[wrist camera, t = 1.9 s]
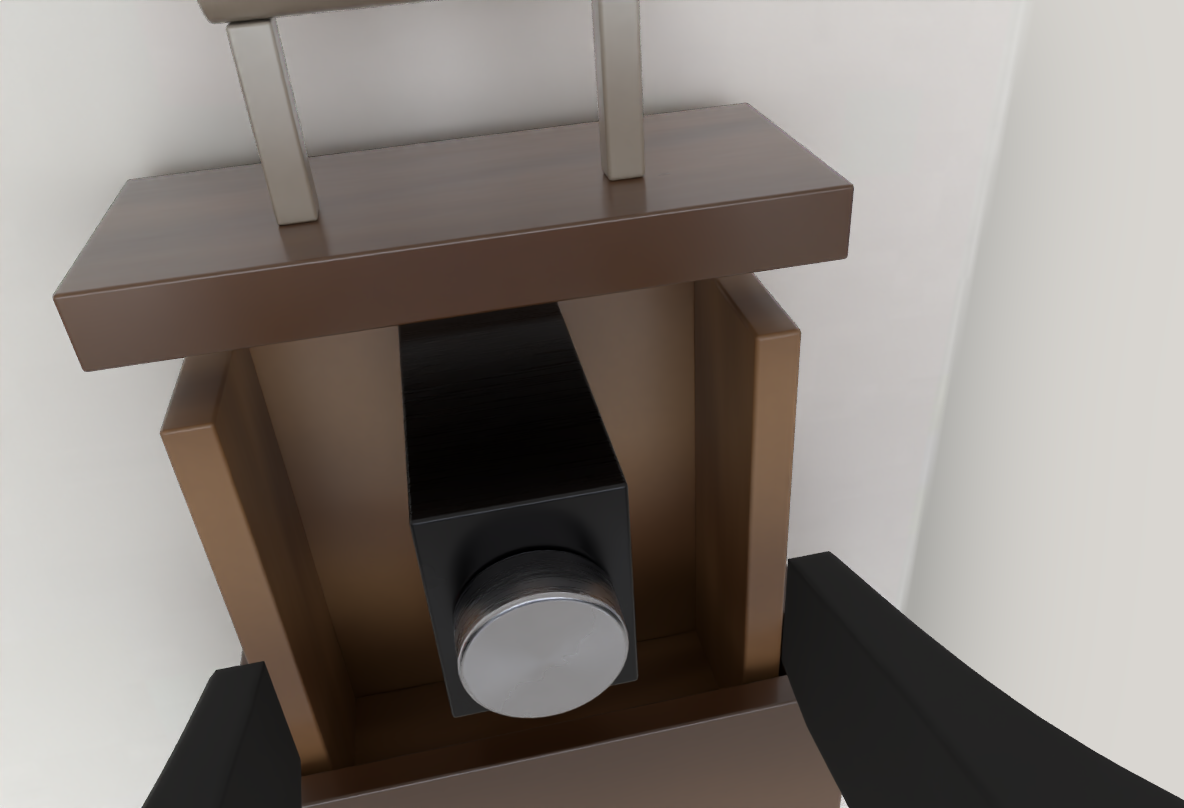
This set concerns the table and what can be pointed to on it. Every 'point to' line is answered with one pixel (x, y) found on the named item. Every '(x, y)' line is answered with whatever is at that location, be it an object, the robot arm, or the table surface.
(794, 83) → the table surface
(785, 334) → the drawer
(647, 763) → the cabinet
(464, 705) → the push button
